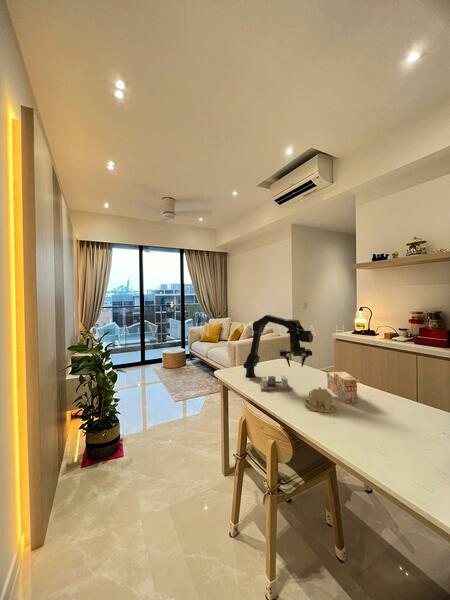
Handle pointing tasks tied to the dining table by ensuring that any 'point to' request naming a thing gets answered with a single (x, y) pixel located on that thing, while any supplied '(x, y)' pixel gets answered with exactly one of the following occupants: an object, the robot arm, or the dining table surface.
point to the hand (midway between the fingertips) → (295, 366)
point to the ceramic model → (320, 401)
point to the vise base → (266, 387)
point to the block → (271, 381)
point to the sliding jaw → (284, 381)
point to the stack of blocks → (343, 386)
